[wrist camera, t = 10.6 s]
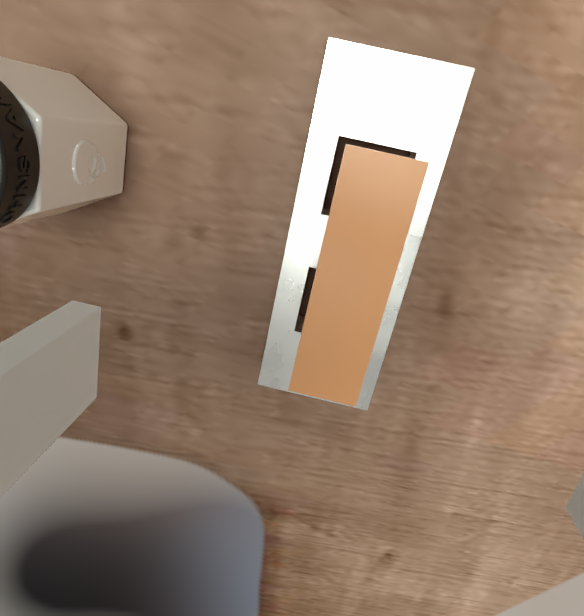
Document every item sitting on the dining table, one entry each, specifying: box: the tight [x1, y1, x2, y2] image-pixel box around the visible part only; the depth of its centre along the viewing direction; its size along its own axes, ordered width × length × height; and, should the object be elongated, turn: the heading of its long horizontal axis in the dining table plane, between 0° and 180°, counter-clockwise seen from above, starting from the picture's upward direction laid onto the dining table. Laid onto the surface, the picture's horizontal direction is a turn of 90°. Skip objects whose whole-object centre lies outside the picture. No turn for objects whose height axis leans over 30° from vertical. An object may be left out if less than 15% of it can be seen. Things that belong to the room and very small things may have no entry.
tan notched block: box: [288, 144, 429, 407], centre depth 26 cm, size 4×12×11 cm, turn 168°
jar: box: [0, 56, 128, 228], centre depth 25 cm, size 9×8×12 cm
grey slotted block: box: [258, 37, 475, 411], centre depth 30 cm, size 8×22×3 cm, turn 168°
